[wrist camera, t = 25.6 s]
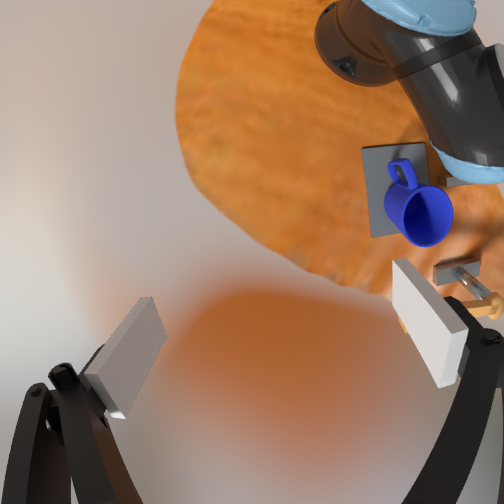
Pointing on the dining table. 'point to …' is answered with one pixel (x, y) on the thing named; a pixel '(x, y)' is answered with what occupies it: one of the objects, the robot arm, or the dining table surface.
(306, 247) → the dining table surface
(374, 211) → the coaster
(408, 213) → the mug
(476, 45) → the robot arm
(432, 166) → the dining table surface
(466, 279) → the dock
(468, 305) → the ball-tipped wooden rod
